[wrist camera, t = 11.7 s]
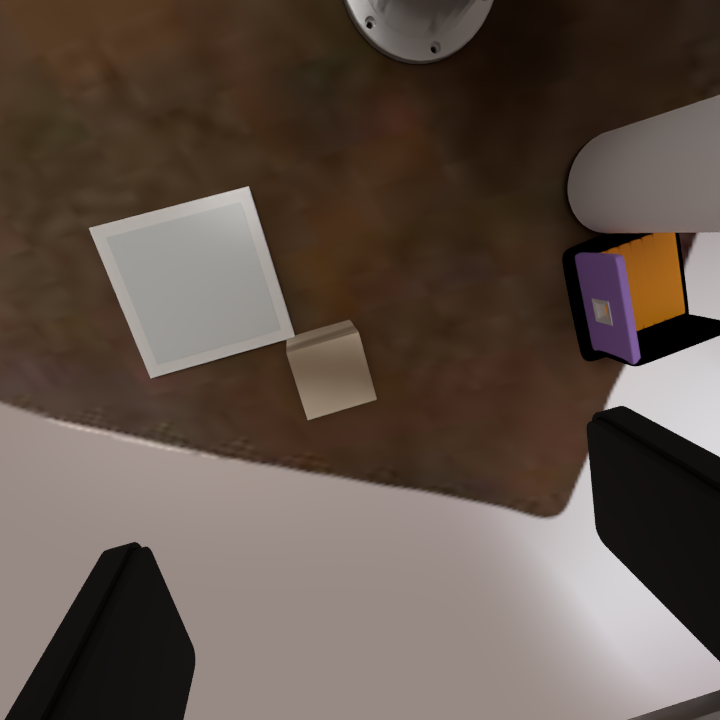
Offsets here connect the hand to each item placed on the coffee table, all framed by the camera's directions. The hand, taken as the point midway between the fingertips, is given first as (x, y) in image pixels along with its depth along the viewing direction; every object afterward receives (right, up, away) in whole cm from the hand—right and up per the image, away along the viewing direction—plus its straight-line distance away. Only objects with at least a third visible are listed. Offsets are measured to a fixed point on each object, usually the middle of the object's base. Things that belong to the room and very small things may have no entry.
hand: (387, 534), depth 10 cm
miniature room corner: (+26, +11, +37) cm, 47 cm away
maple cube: (-3, +2, +29) cm, 29 cm away
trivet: (-14, +10, +31) cm, 36 cm away
